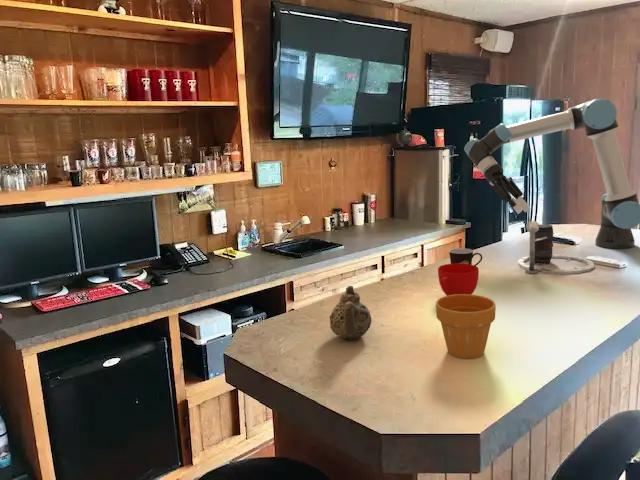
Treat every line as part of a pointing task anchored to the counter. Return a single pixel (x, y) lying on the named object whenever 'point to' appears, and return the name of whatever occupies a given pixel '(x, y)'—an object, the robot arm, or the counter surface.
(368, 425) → the counter surface
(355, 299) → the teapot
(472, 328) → the flower pot
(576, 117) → the robot arm
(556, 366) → the counter surface
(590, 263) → the grey flat ring
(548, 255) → the camera lens
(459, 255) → the coffee mug
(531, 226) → the metal stand with knob
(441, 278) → the ceramic cup
